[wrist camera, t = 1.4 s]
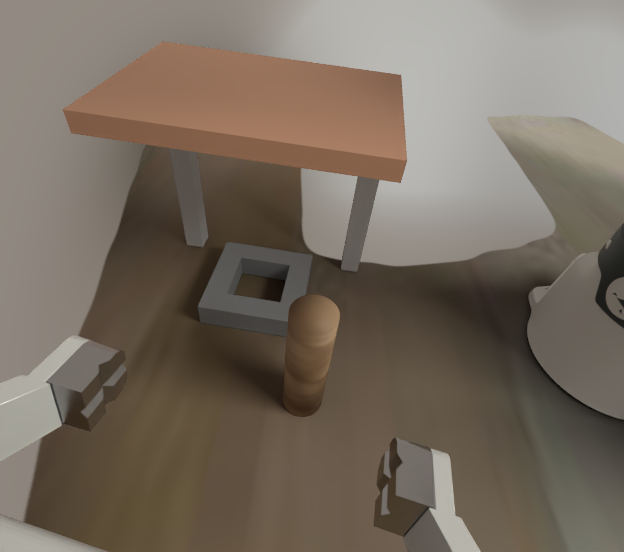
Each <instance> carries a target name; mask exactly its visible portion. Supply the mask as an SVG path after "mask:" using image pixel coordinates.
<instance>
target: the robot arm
mask: <svg viewBox="0 0 624 552" xmlns="http://www.w3.org/2000/svg"><path fill="white" fill-rule="evenodd" d="M528 297H529V303H530V306H531V310H532V311H531V316H530V318H529V321H528V326H527V336H528V340H529V344H530V347H531V349H532V351H533V353H534V355H535V357H536V359H537V360H538V362H539V363H540V365H541V366H542V367H543V369H544V370H545V371H546V372H547V374H548V375H549V376H550V377H551V378H552V379H553V380H554V381H555V382H556V383H557V384H558V385H559V386H561V387H562V388H563V389H564V390H565V391H567V392H568V393H569V394H570V395H572V396H573V397H575V398H576V399H578V400H579V401H581V402H582V403H584V404H586V405H588V406H589V407H591V408H593V409H595V410H597V411H599V412H602V413H604V414H607V415H609V416H612V417H615V418H619V419H623V420H624V223H623V224H622V226H621V227H620V228H618V229H617V230H616V231H614V233H613V234H612V235H611V236H610V237H609V238H608V240H607V242H606V244H605V245H604V246H603V248H602V249H601V250H600V252H591V253H587V254H585V253H582V254H581V255H579V256H578V257H577V258H576V259H575V260H574V261H573V262H572V263H571V264H570V265H569V266H568V267H567V268H566V270H565V271H564V272H563V273H562V274H561V275H560V276H559V277H558V278H557V279H556V281H555V282H554V283H553V284H552V285H551V286H542V287H536V288H534V289H533V290H532V291H531V292H530V293H529V296H528ZM125 359H126V358H125V353H124V351H121V350H118V349H115V348H112V347H109V346H106V345H103V344H100V343H97V342H94V341H92V340H89V339H85V338H82V337H79V336H76V335H73V336H71V337H69V338H67V339H66V340H65V341H64V342H63V343H62V344H61V345H60V346H58V347H57V348H56V349H55V350H54V351H53V352H52V353H51V354H50V355H49V356H48V357H47V358H46V359H45V360H43V361H42V363H40V364H39V365H38V366H37V367H36V368H35V369H34V370H33V371H32V372H31V373H30V374H29V375H27V376H24V375H20V376H17V377H15V378H12V379H10V380H7V381H4V382H2V383H0V461H2V460H3V459H5V458H7V457H9V456H10V455H12V454H14V453H16V452H17V451H19V450H21V449H22V448H24V447H26V446H27V445H29V444H31V443H32V442H34V441H36V440H38V439H40V438H41V437H43V436H45V435H46V434H48V433H50V432H52V431H53V430H55V429H57V428H58V427H60V426H62V424H65V425H68V426H72V427H75V428H78V429H82V430H85V431H88V432H91V431H92V429H93V428H94V427H95V426H96V424H97V423H98V422H99V420H100V419H101V418H102V416H103V415H104V414H105V413H106V404H107V403H109V402H112V401H114V400H116V398H117V397H118V395H119V394H120V393H121V391H122V389H123V387H124V385H125V383H126V379H127V369H126V368H125V366H124V365H123V364H122V363H123V362H124V361H125ZM377 486H378V488H379V490H380V492H381V493H380V495H379V496H378V498H377V499H376V501H375V515H374V526H375V527H378V528H381V529H384V530H386V531H389V532H392V533H395V534H397V535H400V536H403V537H404V538H403V539H404V542H405V545H406V547H407V550H408V552H480V550H479V548H478V546H477V545H476V543H475V541H474V540H473V538H472V536H471V534H470V533H469V531H468V529H467V528H466V526H465V524H464V523H463V521H462V519H461V518H460V517H457V516H455V507H454V496H453V485H452V474H451V463H450V457H449V455H448V454H447V453H444V452H441V451H437V450H434V449H431V448H429V447H426V446H423V445H420V444H416V443H413V442H410V441H406V440H403V439H400V438H396V437H395V438H393V440H392V441H391V443H390V451H387V452H385V453H384V455H383V457H382V459H381V462H380V465H379V469H378V475H377ZM0 552H108V551H105V550H102V549H99V548H96V547H93V546H90V545H88V544H85V543H82V542H79V541H76V540H73V539H70V538H67V537H65V536H62V535H59V534H56V533H53V532H50V531H47V530H44V529H42V528H39V527H36V526H33V525H30V524H27V523H24V522H21V521H18V520H15V519H13V518H9V517H7V516H4V515H1V514H0Z"/></svg>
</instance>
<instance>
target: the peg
mask: <svg viewBox="0 0 624 552" xmlns="http://www.w3.org/2000/svg"><path fill="white" fill-rule="evenodd" d="M339 319H340V312H339V309H338V307H337V306H336V305H335V303H334V302H333V301H331V300H330V299H328V298H326V297H324V296H321V295H316V294H309V295H304V296H301V297H299V298H297V299H296V300H294V301H293V302H292V304H291V305H290V308H289V313H288V327H287V342H286V356H285V370H284V385H283V403H284V406H285V408H286V409H287V410H288V411H289V412H290V413H291V414H293V415H295V416H299V417H306V416H310V415H312V414H314V413H315V412H316V411H317V410H318V409H319V407H320V405H321V401H322V397H323V392H324V388H325V383H326V379H327V374H328V369H329V365H330V360H331V356H332V351H333V347H334V342H335V338H336V333H337V328H338V324H339Z"/></svg>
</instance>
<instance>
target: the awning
mask: <svg viewBox="0 0 624 552" xmlns="http://www.w3.org/2000/svg"><path fill="white" fill-rule="evenodd" d="M401 82H402V81H401V75H396V74H390V73H383V72H376V71H369V70H362V69H354V68H347V67H340V66H333V65H326V64H319V63H312V62H305V61H297V60H291V59H283V58H276V57H269V56H262V55H254V54H248V53H240V52H233V51H226V50H220V49H212V48H205V47H198V46H191V45H184V44H177V43H170V42H161V43H160V44H159V45H157V46H156V47H154V48H153V49H151V50H150V51H148V52H147V53H145V54H144V55H142V56H141V57H139V58H138V59H136V60H135V61H134V62H132V63H131V64H129V65H128V66H126V67H125V68H123V69H122V70H120V71H119V72H117V73H116V74H114V75H113V76H111V77H110V78H108V79H107V80H106V81H104V82H103V83H101V84H100V85H98V86H97V87H95V88H94V89H92V90H91V91H89V92H88V93H86V94H85V95H83V96H82V97H81V98H79V99H78V100H76V101H75V102H73V103H72V104H70V105H69V106H67V107H66V108H64V109H63V111H64V114H65V117H66V120H67V122H68V125H69V128H70V131H71V133H73V134H80V135H87V136H94V137H100V138H107V139H114V140H120V141H126V142H133V143H140V144H146V145H153V146H160V147H166V148H169V151H170V156H171V162H172V167H173V172H174V178H175V183H176V189H177V194H178V199H179V205H180V210H181V216H182V221H183V226H184V232H185V237H186V243H187V245H190V246H197V247H203V246H204V244H205V243H206V241H207V239H208V232H207V224H206V216H205V209H204V201H203V194H202V186H201V179H200V171H199V163H198V156H197V152H199V153H206V154H213V155H219V156H226V157H233V158H239V159H246V160H252V161H259V162H266V163H272V164H279V165H286V166H292V167H299V168H305V169H312V170H319V171H325V172H333V173H339V174H345V175H352V176H358V179H357V184H356V190H355V194H354V200H353V205H352V210H351V215H350V220H349V225H348V231H347V236H346V241H345V246H344V251H343V256H342V263H341V270H347V271H353V272H357V271H358V267H359V262H360V258H361V254H362V249H363V246H364V241H365V237H366V233H367V229H368V225H369V220H370V216H371V212H372V208H373V204H374V200H375V195H376V191H377V187H378V183H379V180H385V181H392V182H398V183H401V180H402V176H403V173H404V169H405V166H406V162H407V155H406V140H405V126H404V111H403V96H402V83H401ZM312 257H313V255H309V254H303V253H296V252H290V251H284V250H277V249H271V248H265V247H258V246H252V245H246V244H240V243H233V242H227V243H226V245H225V248H224V250H223V252H222V254H221V256H220V259H219V261H218V263H217V265H216V267H215V270H214V272H213V274H212V276H211V278H210V281H209V283H208V285H207V287H206V289H205V291H204V294H203V296H202V298H201V300H200V302H199V305H198V312H199V317H200V323H206V324H212V325H218V326H224V327H230V328H236V329H242V330H248V331H254V332H260V333H266V334H272V335H278V336H284V337H287V327H288V313H289V308H290V305H291V304H292V302H293V301H294V300H296V299H297V298H299V297H301V296H304V295H306V292H307V287H308V283H309V278H310V273H311V266H312ZM242 273H243V274H249V275H255V276H261V277H268V278H274V279H280V280H286V282H285V286H284V290H283V294H282V298H281V302H275V301H269V300H263V299H257V298H251V297H244V296H238V295H234V293H235V291H236V288H237V286H238V283H239V280H240V278H241V275H242Z"/></svg>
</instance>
